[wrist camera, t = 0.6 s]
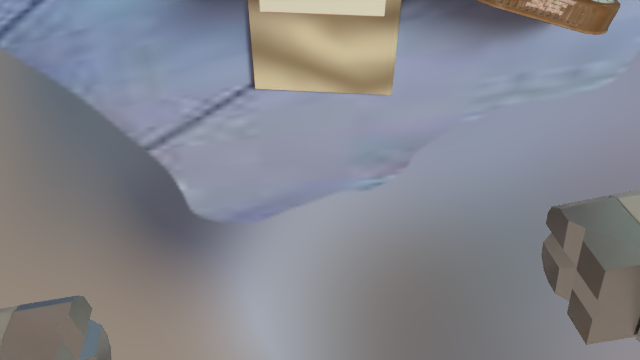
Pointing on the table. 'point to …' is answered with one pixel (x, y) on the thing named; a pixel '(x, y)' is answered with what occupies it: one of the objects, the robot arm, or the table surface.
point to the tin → (564, 12)
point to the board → (324, 50)
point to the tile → (325, 7)
